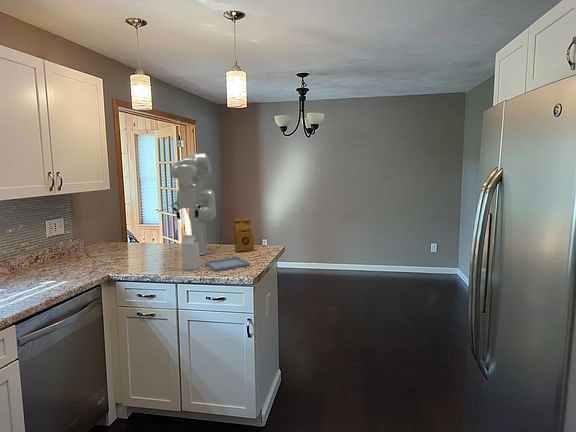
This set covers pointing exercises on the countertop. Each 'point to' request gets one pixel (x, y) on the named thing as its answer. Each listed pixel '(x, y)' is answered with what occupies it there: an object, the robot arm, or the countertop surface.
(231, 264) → the tray
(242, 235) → the coffee package
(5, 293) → the countertop surface
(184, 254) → the milk carton
